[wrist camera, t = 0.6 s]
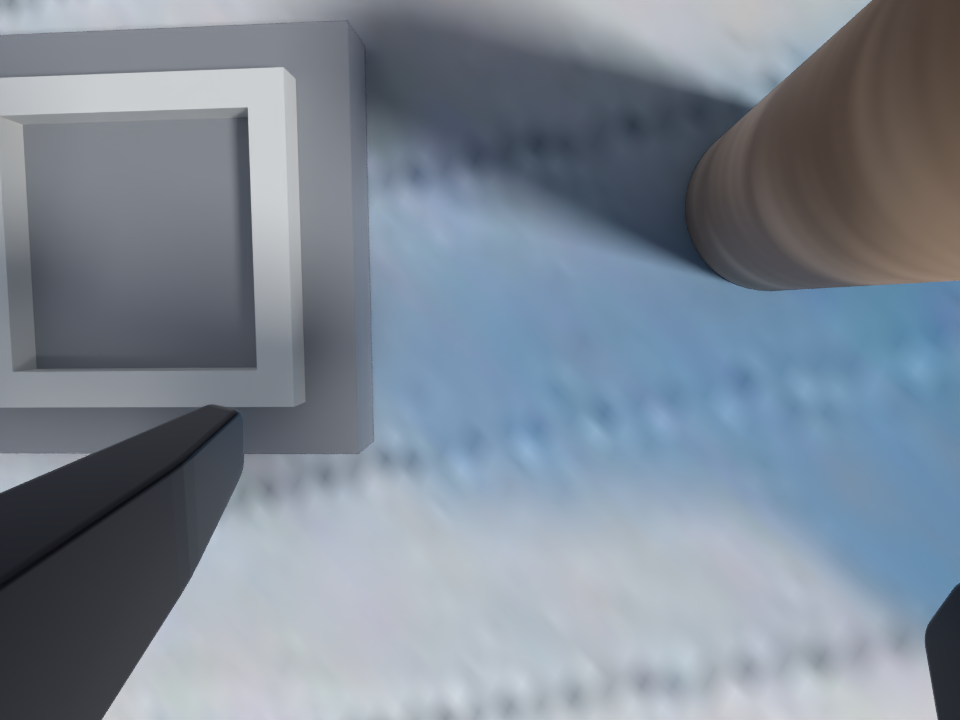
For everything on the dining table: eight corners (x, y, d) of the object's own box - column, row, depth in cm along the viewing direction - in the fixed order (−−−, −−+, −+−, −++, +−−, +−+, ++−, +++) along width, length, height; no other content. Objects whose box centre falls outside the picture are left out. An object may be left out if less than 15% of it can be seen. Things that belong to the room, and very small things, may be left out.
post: (858, 289, 22) (1437, 263, 8) (684, 292, 22) (941, 270, 8) (862, 115, 21) (1479, -240, 7) (685, 121, 22) (955, -208, 8)
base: (374, 440, 23) (349, 461, 20) (9, 440, 24) (-66, 460, 21) (364, 45, 22) (337, 6, 19) (-15, 60, 23) (-96, 24, 20)
